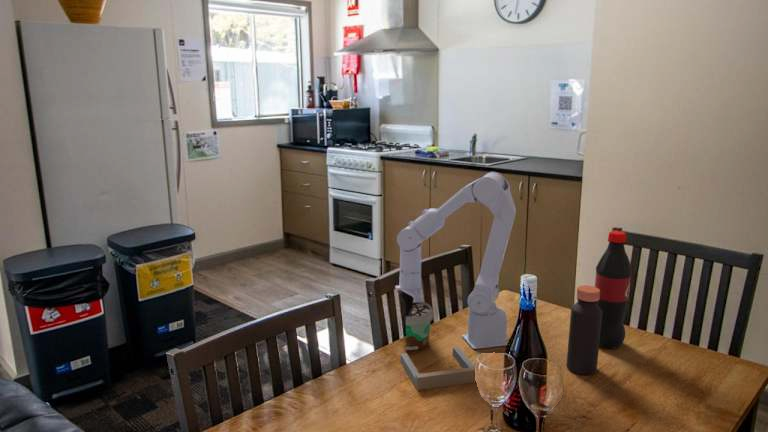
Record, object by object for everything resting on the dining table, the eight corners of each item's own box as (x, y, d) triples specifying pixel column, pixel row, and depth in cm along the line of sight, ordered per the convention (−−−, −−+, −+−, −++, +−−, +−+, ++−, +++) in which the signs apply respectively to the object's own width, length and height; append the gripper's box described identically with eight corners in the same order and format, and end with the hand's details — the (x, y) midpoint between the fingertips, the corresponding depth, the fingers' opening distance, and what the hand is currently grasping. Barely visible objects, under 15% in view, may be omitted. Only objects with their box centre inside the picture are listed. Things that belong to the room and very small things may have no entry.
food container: (429, 357, 136) (430, 319, 134) (405, 355, 137) (405, 317, 135) (435, 335, 148) (436, 300, 146) (412, 333, 149) (413, 299, 147)
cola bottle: (628, 342, 144) (641, 231, 137) (617, 354, 138) (629, 238, 131) (596, 333, 150) (606, 225, 143) (583, 344, 143) (594, 232, 137)
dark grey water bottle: (579, 378, 127) (587, 296, 122) (560, 364, 133) (566, 285, 128) (603, 372, 129) (611, 292, 125) (582, 359, 135) (590, 282, 131)
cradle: (458, 354, 138) (458, 342, 137) (480, 381, 125) (481, 369, 125) (400, 361, 134) (400, 349, 134) (417, 390, 122) (417, 377, 121)
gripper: (389, 263, 154) (388, 308, 157) (403, 280, 140) (403, 330, 143) (413, 261, 156) (412, 306, 159) (430, 278, 142) (429, 327, 145)
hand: (409, 317), depth 151 cm, fingers closed
